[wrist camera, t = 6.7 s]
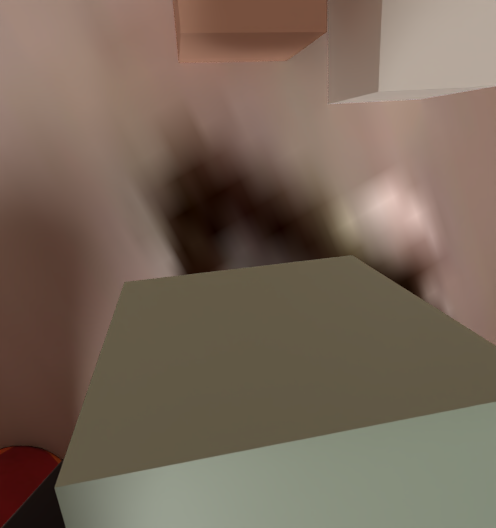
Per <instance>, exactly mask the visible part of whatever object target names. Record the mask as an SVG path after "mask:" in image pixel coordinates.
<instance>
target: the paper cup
mask: <svg viewBox="0 0 496 528" xmlns="http://www.w3.org/2000/svg"><path fill="white" fill-rule="evenodd" d="M61 461H62V460H61V459H60V458H58V457H57V456H56V455H54V454H52V453H50V452H48V451H46V450H43V449H40V448H36V447H30V446H12V447H6V448H2V449H0V528H1V527H2V526H3V525H4V524H5V523H6V522H7V521H8V520H9V518H10V517H11V516H12V515H13V514H14V513H15V512H16V511H17V510H18V508H19V507H20V506H21V505H22V504H23V503H24V502H25V501H26V500H27V498H28V497H29V496H30V495H31V494H32V493H33V492H34V491H35V490H36V488H37V487H38V486H39V485H40V484H41V483H42V482H43V481H44V480H45V478H46V477H47V476H48V475H49V474H50V473H51V472H52V471H53V470H54V468H55V467H56V466H57V465H58V464H59V463H60V462H61Z"/></svg>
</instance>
